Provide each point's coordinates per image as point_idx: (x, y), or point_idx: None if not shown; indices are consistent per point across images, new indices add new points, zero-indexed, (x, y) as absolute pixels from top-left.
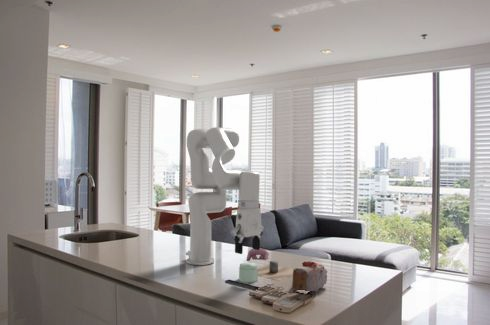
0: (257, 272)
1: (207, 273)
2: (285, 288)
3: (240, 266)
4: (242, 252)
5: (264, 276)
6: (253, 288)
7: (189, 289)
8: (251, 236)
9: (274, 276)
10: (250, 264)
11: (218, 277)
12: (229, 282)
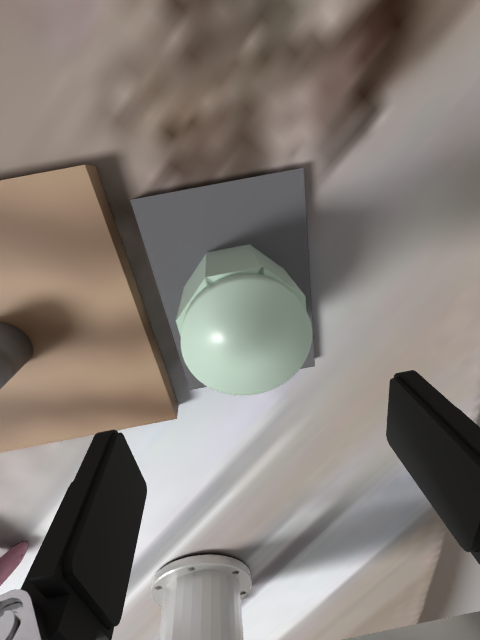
0: (208, 268)
1: (272, 482)
2: (96, 59)
3: (305, 350)
4: (396, 381)
5: (115, 299)
6: (302, 173)
7: (474, 360)
8: (379, 633)
9: (54, 264)
10: (233, 338)
11: (276, 430)
12: (312, 339)
